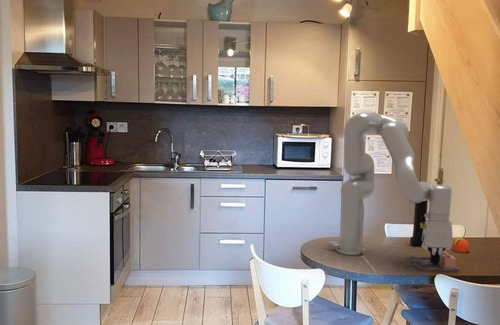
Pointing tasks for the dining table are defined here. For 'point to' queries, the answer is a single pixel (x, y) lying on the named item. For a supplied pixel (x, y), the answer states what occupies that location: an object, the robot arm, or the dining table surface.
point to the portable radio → (419, 223)
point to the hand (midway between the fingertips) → (434, 263)
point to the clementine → (460, 245)
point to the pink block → (447, 261)
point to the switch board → (429, 264)
